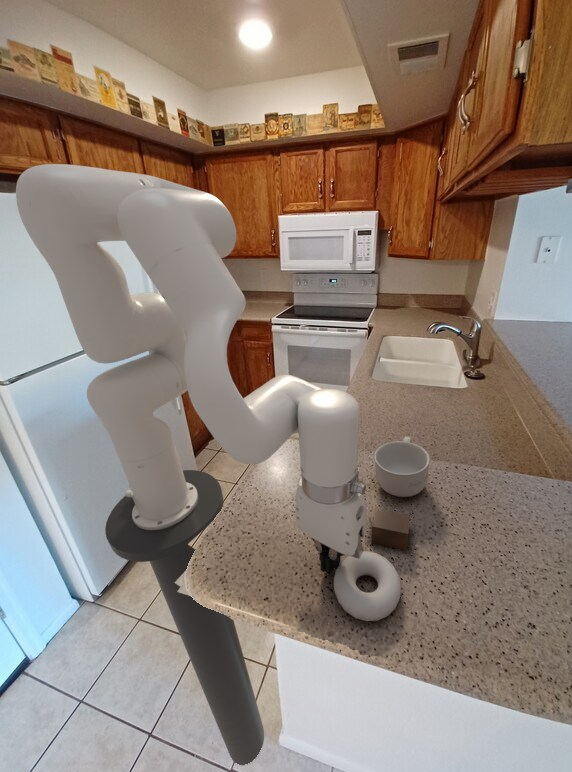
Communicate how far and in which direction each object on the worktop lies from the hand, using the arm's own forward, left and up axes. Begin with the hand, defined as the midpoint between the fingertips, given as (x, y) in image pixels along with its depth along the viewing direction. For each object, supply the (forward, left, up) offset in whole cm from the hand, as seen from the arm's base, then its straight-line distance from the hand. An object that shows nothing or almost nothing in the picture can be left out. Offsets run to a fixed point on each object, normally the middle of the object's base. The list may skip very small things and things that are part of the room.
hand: (330, 565), depth 52 cm
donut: (+6, -2, -1) cm, 7 cm away
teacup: (+9, +23, -1) cm, 25 cm away
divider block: (+9, +9, -1) cm, 12 cm away
